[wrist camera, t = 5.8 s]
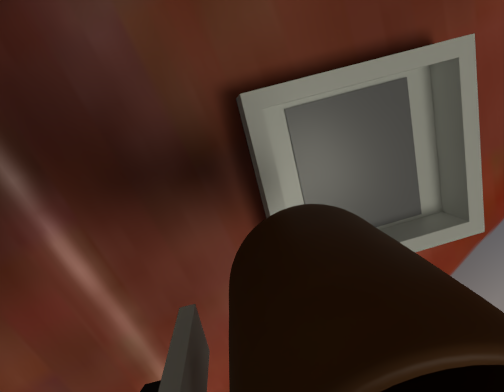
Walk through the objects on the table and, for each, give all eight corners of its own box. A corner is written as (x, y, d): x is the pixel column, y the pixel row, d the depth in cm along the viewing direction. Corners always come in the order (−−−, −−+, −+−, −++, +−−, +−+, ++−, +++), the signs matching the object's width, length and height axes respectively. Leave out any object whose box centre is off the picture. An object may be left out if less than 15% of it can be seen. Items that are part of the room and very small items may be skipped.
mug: (263, 421, 16) (311, 791, 7) (144, 356, 15) (16, 724, 6) (410, 256, 15) (706, 464, 6) (295, 165, 13) (449, 250, 4)
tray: (278, 267, 32) (288, 289, 28) (236, 98, 28) (239, 94, 23) (449, 217, 33) (484, 231, 29) (435, 47, 29) (474, 33, 24)
